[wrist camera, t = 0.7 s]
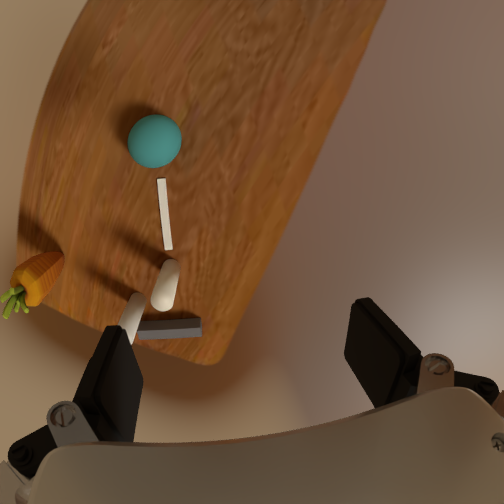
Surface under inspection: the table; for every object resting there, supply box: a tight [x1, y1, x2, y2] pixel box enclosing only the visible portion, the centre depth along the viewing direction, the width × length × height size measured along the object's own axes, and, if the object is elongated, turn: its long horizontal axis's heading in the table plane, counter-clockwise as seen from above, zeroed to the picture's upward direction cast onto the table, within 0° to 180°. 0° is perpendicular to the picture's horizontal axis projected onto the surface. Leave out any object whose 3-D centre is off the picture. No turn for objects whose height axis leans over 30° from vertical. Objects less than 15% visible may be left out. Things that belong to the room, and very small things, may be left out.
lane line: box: [157, 178, 173, 250], centre depth 34 cm, size 9×1×1 cm, turn 2°
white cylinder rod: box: [118, 292, 147, 344], centre depth 33 cm, size 2×2×9 cm
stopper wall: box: [137, 318, 202, 340], centre depth 38 cm, size 2×9×2 cm, turn 92°
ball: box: [128, 114, 181, 168], centre depth 28 cm, size 6×6×6 cm
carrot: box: [0, 251, 64, 319], centre depth 26 cm, size 5×5×15 cm
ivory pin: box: [151, 259, 180, 311], centre depth 32 cm, size 2×2×9 cm
